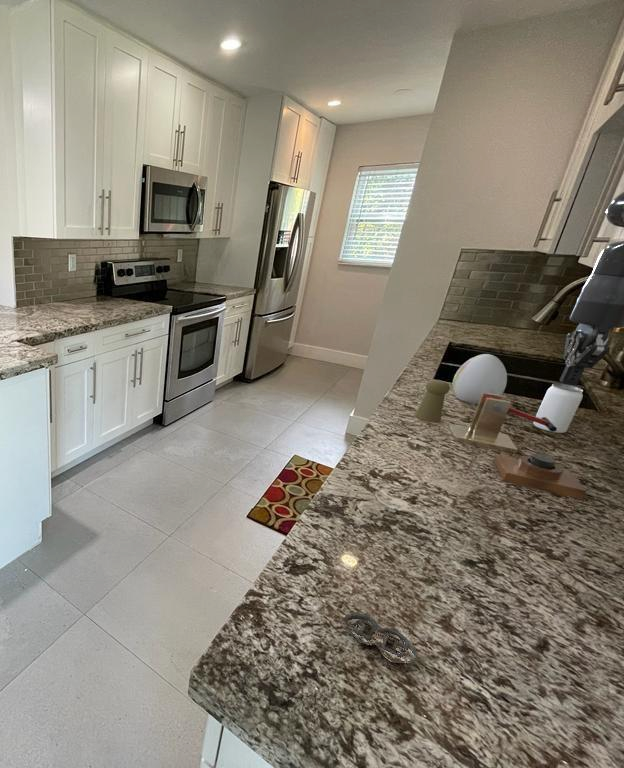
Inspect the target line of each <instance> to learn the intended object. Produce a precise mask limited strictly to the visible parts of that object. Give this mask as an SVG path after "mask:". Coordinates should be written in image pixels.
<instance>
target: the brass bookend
mask: <svg viewBox="0 0 624 768" xmlns="http://www.w3.org/2000/svg"><path fill="white" fill-rule="evenodd" d="M489 396H491V397H494V398H496V399H493V398H488V397H489ZM484 402H485V403H484ZM511 405H512V402H511V400H507V396H506V395H503V394H502V395H497V394H491V393H485V392H483V393H482V395H481V398H480V401H479V403H478V405H477V406H476V409H475V412H474V414H473V416H472V419H471V422H470V424H469V426H465V425H462V424H461V425H460V424H455V423H451V422H450V423H448V426H447V429H448V431H449V433H450V435H451V438H452V441H454V442H457V443H462V444H463V443H464V444H468V445H472V446H478V447H482V448H486V449H492V450H497V451H501V452H505V453H506V452H507V453H511V454H517V452H518V450H519V449H518V447H517V446H516V445H515V443H514V442H513V441H512V439H511V438H510V436H509V434H507V433H501V429H502V426H503V424H504V421H505V419H506V417H507V414H508V413H509V412H508V409H509V407H511Z"/></svg>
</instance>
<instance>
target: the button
mask: <svg viewBox="0 0 624 768" xmlns="http://www.w3.org/2000/svg"><path fill="white" fill-rule="evenodd" d="M530 456H531V458H530V460H529V463H531V464H533V465H535V466H538V467H541V468H545V469H553V467H554V465H555V464H557V460H556V459H554V458H552V457H551V456H548V455H545V454H541V453H532V454H531V455H530Z"/></svg>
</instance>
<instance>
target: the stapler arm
mask: <svg viewBox="0 0 624 768" xmlns="http://www.w3.org/2000/svg"><path fill="white" fill-rule="evenodd" d="M488 398H493V399H496V398H494V397H491V396H489V397H488ZM484 403H485V402H484ZM507 413H510V414H513V415H515V416H518V417H521V418H523V419H526V420H529V421H532V422H537V423H539V424H542V425H545V426H546V427H547V428H548V429H549V430H550V431H556V430H557V428H556V427H555V426H554V425H553V424H552V423H551V422H550V421H549V420H548V419H547V418H546V417H542V418H538V417H536V415H532V414H529V413H527V412H524V411H522V410H518V409H516V408H513V407H511V406H510V407H509V409H508V412H507Z"/></svg>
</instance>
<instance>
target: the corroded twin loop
mask: <svg viewBox="0 0 624 768" xmlns="http://www.w3.org/2000/svg"><path fill="white" fill-rule="evenodd" d="M352 619H361V620H357V621H356V622H355V623H353V624H352V625H354V626H356V625H357V628H358V627H359V625H360V626H362V630H358V629H357V628H356V627H354V629H353V631H354V632H355V633H356V634H357V635H360V636H363V637H364V638H365V639H366V640H367V641H368V640H369V641H370V640H371V638H372V637H371V636H372V635H373V634H375V632H374V628H373V626H375V628H376V630H377V631H378V632H380V633H385V632H386V633H387V632H388V633H391V634H394V635H397V636H398V637H399V638H400V640H399V639H398V638H396V637H394V636H393V635H390V634H385V635H384V636H382V637H383V643H382V648H383V649H384V650H386V651H388V652H391V653H392V654H395V655H397V657H400V658H401V657H403V656H404V654H402V653H400V652H399V651H397V650H396V648H397V646H400V647H402V648H404V651H403V649H402V651H403V652H406V650H408V648H409V649H410V650H411V651H412V653H413V654H414V659H411V660H410V661H408V662H409V663H407V662H406V663H407V664H412V663H416V662H417V661H418V658H419V655H418V653H417V651H416V649H415V647H414V646H413V644H412V643H411V642H410V641H409V639H408V638H407V637H406V636H405V635H404V634H402V633H401V632H399V630H396V629H395V628H389V627H380V625H379V624H378V622H377V621H376V619H374V618H373V617H372V616H369V615H368V614H366V613H360V612H351V613H349V614H347V615H346V614H345V617H344V623H345V626H346V627H347V628H346V629H347V630H348V631H349V633H350V632H351V630H350V628H349V625H348V622H347V621H348V620H352ZM363 620H365V621H367V622H368V621H369V622H371V624H372V625H373V626H372V625H371V624H369V623H367V622H365V621H363ZM358 624H359V625H358ZM366 625H368V626H370V627H371V628H372V629H371V628H370V627H369V628H370V631H369V634H366V633H364V629H365V627H366ZM368 626H367V627H368ZM350 634H351V636H352V635H354V637H355V638H356V639H357V640H359V641H360V642H362V643H363V644H369V645H370V644H374V645H375V646H377V647H378V645H377V642H375V643H369V642H363V641H361V640H360V639H358V638H357V637H356V636H355V634H353V633H352V632H351V633H350ZM376 635H377V634H376ZM378 636H379V634H378ZM380 636H381V635H380ZM388 636H389V637H391V638H393V639H395V640H397V641H398V642H397V641H395V642H394V641H393V644H392V646H393V647H392V648H393V649H394V650H393V649H391V648H390V647H388V646H386V643H387V641H388V638H387V637H388ZM354 637H353V638H354ZM355 638H354V639H355ZM356 639H355V640H356ZM373 639H374V638H373ZM375 640H376V639H375ZM403 640H404V641H403ZM399 641H401V642H402V643H403V644H401V643H399ZM404 642H405V645H404ZM380 643H381V642H380ZM377 647H376V648H377ZM378 649H379V650H380V651H381V649H380V648H379V647H378ZM378 649H377V650H378ZM405 649H406V650H405ZM396 651H397V652H398V653H400V654H398V653H396ZM381 652H382V653H383V651H381ZM383 654H384V653H383ZM384 655H385V654H384ZM385 656H386V655H385ZM386 657H387V656H386ZM387 658H388V659H390V658H389V657H387ZM390 660H391V661H393V662H398V663H402V662H403V663H404V662H405V661H394V660H392V659H390Z"/></svg>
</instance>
